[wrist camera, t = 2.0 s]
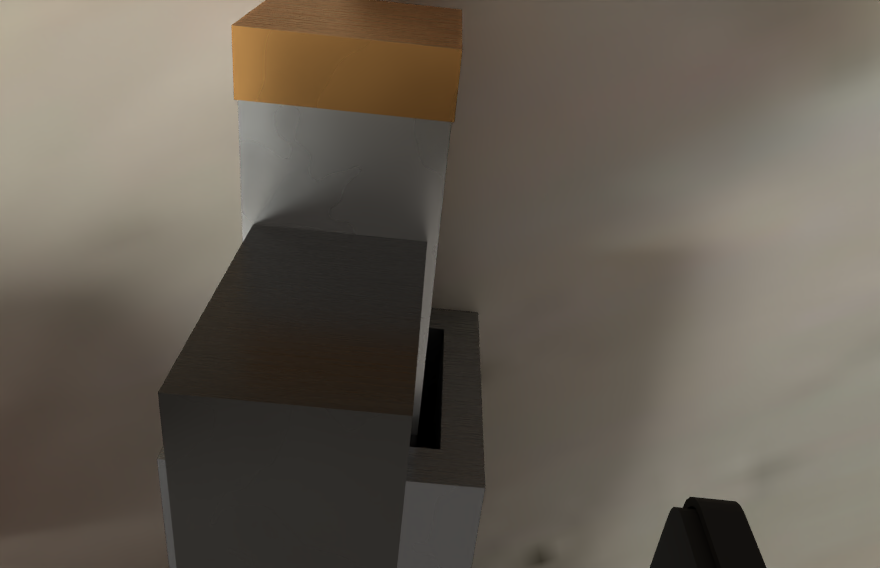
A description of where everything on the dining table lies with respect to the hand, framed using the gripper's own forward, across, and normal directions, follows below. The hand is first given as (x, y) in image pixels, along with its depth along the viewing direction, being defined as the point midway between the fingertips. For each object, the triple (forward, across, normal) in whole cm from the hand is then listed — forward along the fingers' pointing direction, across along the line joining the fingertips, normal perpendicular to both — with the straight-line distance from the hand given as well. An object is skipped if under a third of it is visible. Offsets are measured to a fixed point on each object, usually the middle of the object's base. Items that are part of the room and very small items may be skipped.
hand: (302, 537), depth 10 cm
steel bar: (+9, 0, +5) cm, 11 cm away
